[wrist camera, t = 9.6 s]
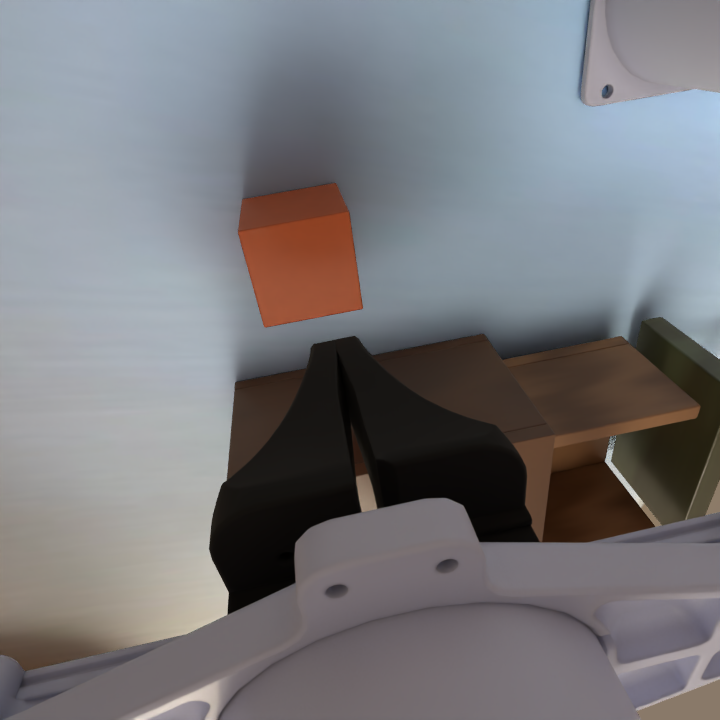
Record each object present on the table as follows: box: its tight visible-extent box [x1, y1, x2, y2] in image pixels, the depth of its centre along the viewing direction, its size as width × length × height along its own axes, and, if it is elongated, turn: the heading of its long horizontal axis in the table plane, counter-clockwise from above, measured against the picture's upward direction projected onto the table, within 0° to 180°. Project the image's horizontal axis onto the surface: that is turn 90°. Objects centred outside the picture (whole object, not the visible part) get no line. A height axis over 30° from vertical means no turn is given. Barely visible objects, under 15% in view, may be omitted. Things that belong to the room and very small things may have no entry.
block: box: [238, 183, 363, 327], centre depth 22 cm, size 4×4×4 cm
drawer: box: [503, 317, 720, 543], centre depth 28 cm, size 18×11×7 cm, turn 97°
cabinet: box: [227, 334, 555, 542], centre depth 28 cm, size 14×12×8 cm
